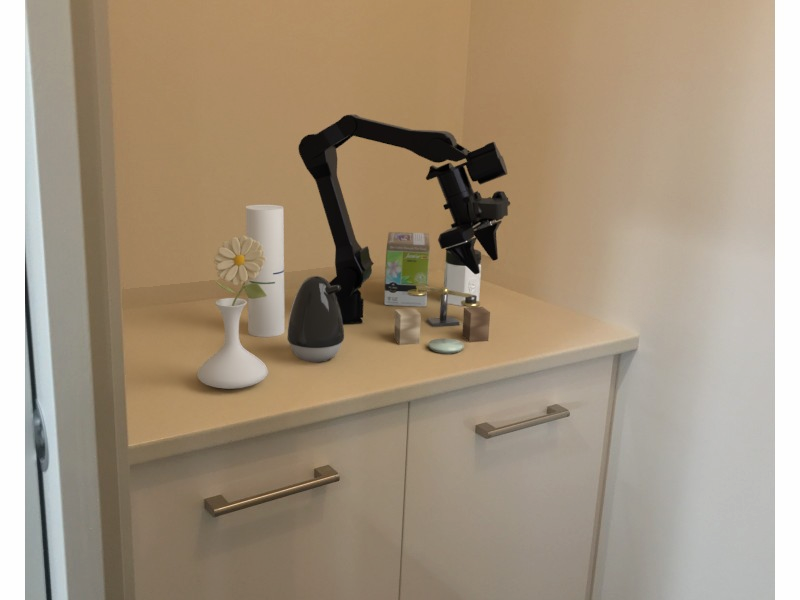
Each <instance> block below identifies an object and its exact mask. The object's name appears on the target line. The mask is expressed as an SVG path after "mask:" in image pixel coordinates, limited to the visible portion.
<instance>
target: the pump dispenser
mask: <svg viewBox="0 0 800 600" xmlns="http://www.w3.org/2000/svg"><path fill="white" fill-rule="evenodd" d="M329 282H330V281H328V279H326V278H325V277H322V276H319V275H313V276H309V277H307V278H305V280H303V281H302V283H301V284H300V286H299V287H298V290H297V292H296V293H295V297H294V300H293V303H292V305H291V308H290V309H291V310H290V314H289V318H288V325H287V334H286V335H287V341H288V342H289V346H290V348H291V351H292V353H293V354H294V355H295V356H296V357H298V358H299V359H301V360H303V361H306V362H309V363H310V362H312V363H321V362H325V361H328V360H331V359H332V358H333V357H335V356H336V355H337V354H338V352H340V351H339V350H340V349H341V346H342V344H343V342H344V340H345V330H344V324H343V321H342V315H341V311H340V307H339V304H338V301H337V298H336V295H335V292H337V291H340V290H341V286H340V285H334V286H331V285H330V283H329Z"/></svg>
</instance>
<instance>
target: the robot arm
mask: <svg viewBox="0 0 800 600" xmlns="http://www.w3.org/2000/svg"><path fill="white" fill-rule="evenodd" d="M352 137H355V138H356V137H358V138H361V139H365V140H369V141H373V142H377V143H380V144H385V145H388V146H389V145H390V146H392V147H393V146H394V147H397V148H401V149H405V150H408V151H410V152H412V153H413V154H416V155H417V156H419V157H421V158H423V159H426V160H428V161H429V162H433V163H436V164H437V163H438V164H440V163H444V162H446V161H450V162H447V163H445V164H443V165H440V166H435V165H431V166H429V171H428V173H427V175H426V177H425V180H426V181H430V180H432V179H435V178H436V179H437V182H438V185H439V187H440V190H441V192H442V194H443V198H444V200H445V202H446V203H445V204H443V209H444V210H449V213H450V216H451V218H452V221H453V223H451V224H450V227H451V228H449V229H447V230H445V231H443V232H441V233H440V234H439V237H438V239H437V242H438V243H439V247H440V249H442V250H444V249H445V252H446V251H449V252H451V253H452V254H453V255H454V256H455V257H457V258H458V259H459V260H460V261H461V262H462V263H463V264H464V265H465V266H466V267H468V268H469V269H470V270H471V271H472V272H473V273H474V274H479V273H480V270H479V265H478V261H477V258H476V254H475V250H476V249H475V244H476V243H477V242H479V244H480V246H481V247H482V248H483V249H484V251H485V252H486V254H487V256H488V257H489V258H490V259H491V260H492V261H497V260H498V259H499V255H498V243H497V242H498V241H497V231H498V229H499V226H500V225H501V224H502V219H503V218H504V217H506V216H508V215H509V214H508V213H509V211H508V209H509V208H508V207H509V206H510V205H511V202H510V201H509V197H507V194H506V193H505V191H501V190H498V191H495V192H494V193H493V195H492V197H491V196H489V197H488V196H487V197H482V195H481V192H479V191H478V190H477V191H474V189H473V187H472V184H471V181H472V183H473V182H478V184H479V185H483V184H486V183H488V182H491V181H494V180H496V179H498V178H499V179H500V178H502V177H503V176H504V177H505V176H506V175H508V170H507V165H506V162H505V160H504V157H503V155H501V153H500V150H499V148H498V147H497V145H496V142H495V141H491V142H489V143H487V144H485V145H484V146H481V147H479V148H478V149H474V150H473V151H470V150H468V149H467V148H465V146H462V145H461V144H459V143H458V141H457V139H456V138H455V136H454V135H453V134H452V133H451V132H449V131H446V130H430V129H428V130H427V129H426V130H425V129H411V128H407V127H403V126H400V125H399V126H398V125H394V124H390V123H386V122H382V121H378V120H374V119H370V118H366V117H362V116H359V115H357V114H345V115H343V116H342V117H340V119H339V120H337V121H336V122H333V124H330V125H329V126H327V127H325V128H324V129H322V130H321V131H319V132H317V133H311V134H310V133H309V134H307V135H305V136H304V137H302V139H301V140H300V142H299V144H298V154H299V157H300V158H301V160H302V162H303V164H304V166H305V168H306V170H307V171H308V172H309V174H310V176H311V177H312V179H314V181H315V184H316V186H317V190H318V193H319V196H320V199H321V203H322V206H323V209H324V213H325V217H326V220H327V223H328V226H329V229H330V234H331V237H332V240H333V243H334V246H335V247H334V248H335V254H334V256H335V257H334V258H335V260H334V264H335V265H334V266H335V274H336V276H334V277H333V279H332V280H331V281H328V282H329V283H330V285H331V286H334V285H340V286H341V290H340V291H337V292H335V295H336V298H337V301H338V304H339V307H340V311H341V315H342V321H343V325H347V324H348V325H349V324H362V323H364V322H363V317H364V299H363V297H362V292H361V291H360V289H361V288H362V285H363V284H364V283H365V282H366V281H367V280H368V279H369V278H370V276H371V274H372V266H374V263H375V262H373V260H372V259H371V257H370V256H371V255H370V249H369V247H368V246H364V247H361V245H360V243H359V242H358V241H357V239H356V235H355V233H354V229H353V226H352V223H351V219H350V215H349V211H348V208H347V205H346V202H345V198H344V194H343V192H342V187H341V184H340V182H339V177H338V155H337V149H338V148H340V147H341V146H342V145H344V144H345V143H346V142H348V141H349V140H350V139H352ZM464 159H465V160H466V161H465V162H462V163H460V164H458V165H455V166H454V165H453V164H452V162H454V163H458V162H460V161H463V160H464ZM465 167H466V168H465ZM466 170H467V171H466ZM469 177H470V179H469ZM470 180H471V181H470ZM476 241H477V242H476ZM474 249H475V250H474Z"/></svg>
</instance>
